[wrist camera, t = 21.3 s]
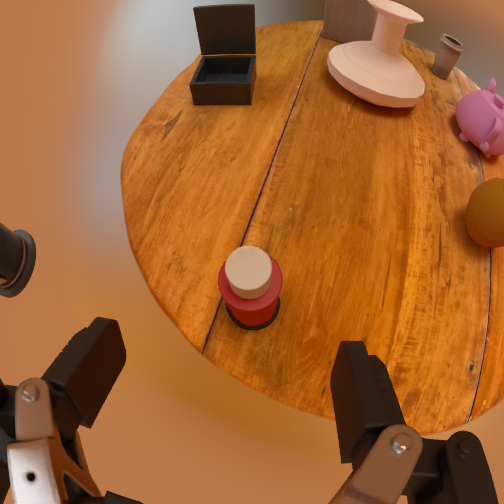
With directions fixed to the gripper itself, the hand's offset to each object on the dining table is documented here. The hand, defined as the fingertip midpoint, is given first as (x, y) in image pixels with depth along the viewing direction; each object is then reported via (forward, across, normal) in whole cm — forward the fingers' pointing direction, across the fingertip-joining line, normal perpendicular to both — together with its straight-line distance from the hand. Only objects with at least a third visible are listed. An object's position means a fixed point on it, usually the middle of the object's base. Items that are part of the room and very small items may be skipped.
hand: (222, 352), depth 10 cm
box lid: (+43, +8, -27) cm, 51 cm away
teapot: (+46, -45, -14) cm, 66 cm away
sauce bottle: (+20, 0, +11) cm, 22 cm away
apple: (+29, -34, +3) cm, 45 cm away
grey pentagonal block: (+66, -21, -35) cm, 78 cm away
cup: (+62, -44, -31) cm, 82 cm away
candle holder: (+51, -21, -20) cm, 59 cm away
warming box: (+47, +8, -16) cm, 50 cm away
